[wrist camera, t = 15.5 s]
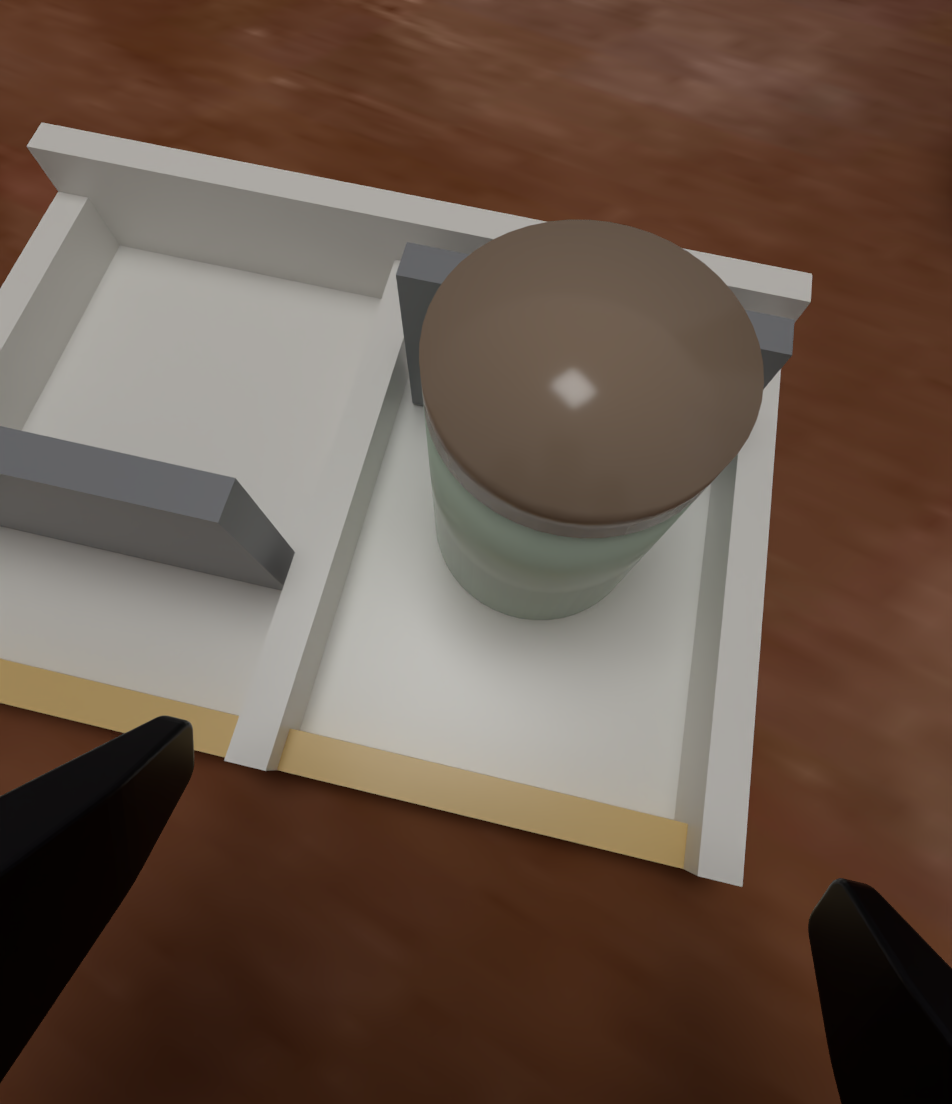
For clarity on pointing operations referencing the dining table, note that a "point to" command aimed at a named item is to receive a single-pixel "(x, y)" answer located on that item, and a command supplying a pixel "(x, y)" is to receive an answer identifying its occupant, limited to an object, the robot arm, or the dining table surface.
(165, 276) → the white divided tray
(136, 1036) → the dining table surface
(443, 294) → the sage jar
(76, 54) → the dining table surface
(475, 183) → the dining table surface
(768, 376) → the plate
